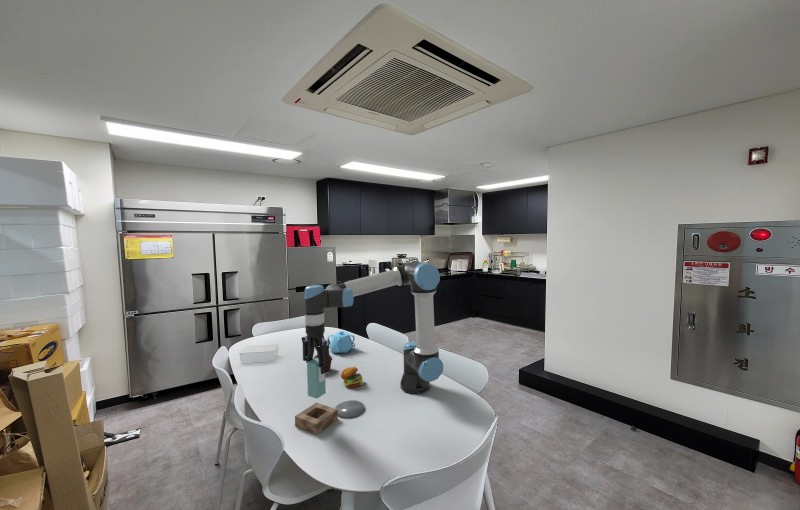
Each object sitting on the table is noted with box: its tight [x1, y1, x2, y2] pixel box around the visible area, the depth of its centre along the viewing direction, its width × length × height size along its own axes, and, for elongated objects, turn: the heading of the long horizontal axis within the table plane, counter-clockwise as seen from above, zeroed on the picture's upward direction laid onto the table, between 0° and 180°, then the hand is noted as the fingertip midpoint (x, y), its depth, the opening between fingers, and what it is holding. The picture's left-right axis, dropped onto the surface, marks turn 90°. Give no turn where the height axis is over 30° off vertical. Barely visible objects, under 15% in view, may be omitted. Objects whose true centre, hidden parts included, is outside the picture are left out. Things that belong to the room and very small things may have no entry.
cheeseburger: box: [340, 366, 364, 388], centre depth 160 cm, size 10×11×10 cm
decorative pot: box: [327, 330, 356, 354], centre depth 209 cm, size 16×16×14 cm
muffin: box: [313, 354, 333, 374], centre depth 176 cm, size 12×11×10 cm
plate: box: [334, 399, 365, 419], centre depth 135 cm, size 13×13×1 cm
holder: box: [294, 401, 339, 435], centre depth 126 cm, size 12×12×4 cm
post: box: [306, 358, 327, 399], centre depth 125 cm, size 5×5×14 cm
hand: (316, 379), depth 125 cm, fingers closed on post, 5 cm apart
